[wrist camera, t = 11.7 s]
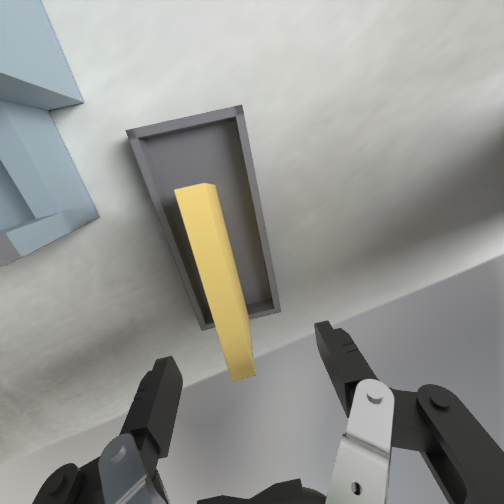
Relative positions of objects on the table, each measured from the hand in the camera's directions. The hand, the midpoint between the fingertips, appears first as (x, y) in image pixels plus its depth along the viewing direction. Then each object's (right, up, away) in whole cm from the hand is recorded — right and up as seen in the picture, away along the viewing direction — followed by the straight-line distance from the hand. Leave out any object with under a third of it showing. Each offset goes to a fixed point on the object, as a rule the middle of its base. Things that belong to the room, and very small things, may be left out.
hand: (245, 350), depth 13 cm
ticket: (-2, +5, +5) cm, 8 cm away
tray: (-2, +7, +6) cm, 10 cm away
